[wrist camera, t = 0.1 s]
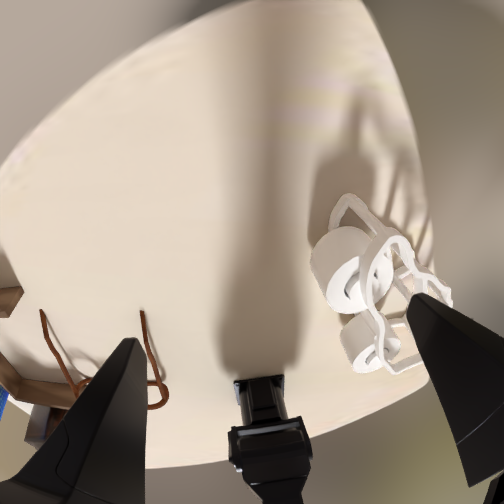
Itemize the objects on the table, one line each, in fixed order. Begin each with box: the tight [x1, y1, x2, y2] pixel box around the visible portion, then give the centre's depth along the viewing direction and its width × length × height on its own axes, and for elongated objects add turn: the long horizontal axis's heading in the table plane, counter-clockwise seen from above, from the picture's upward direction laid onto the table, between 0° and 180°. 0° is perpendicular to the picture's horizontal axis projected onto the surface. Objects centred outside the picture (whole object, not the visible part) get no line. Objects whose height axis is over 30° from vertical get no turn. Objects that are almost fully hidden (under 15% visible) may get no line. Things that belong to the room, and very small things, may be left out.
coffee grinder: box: [24, 404, 68, 450], centre depth 30 cm, size 16×11×18 cm
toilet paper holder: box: [310, 193, 453, 375], centre depth 24 cm, size 20×11×7 cm, turn 25°
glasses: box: [39, 309, 169, 410], centre depth 27 cm, size 13×13×5 cm
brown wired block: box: [0, 286, 87, 410], centre depth 25 cm, size 19×15×4 cm
